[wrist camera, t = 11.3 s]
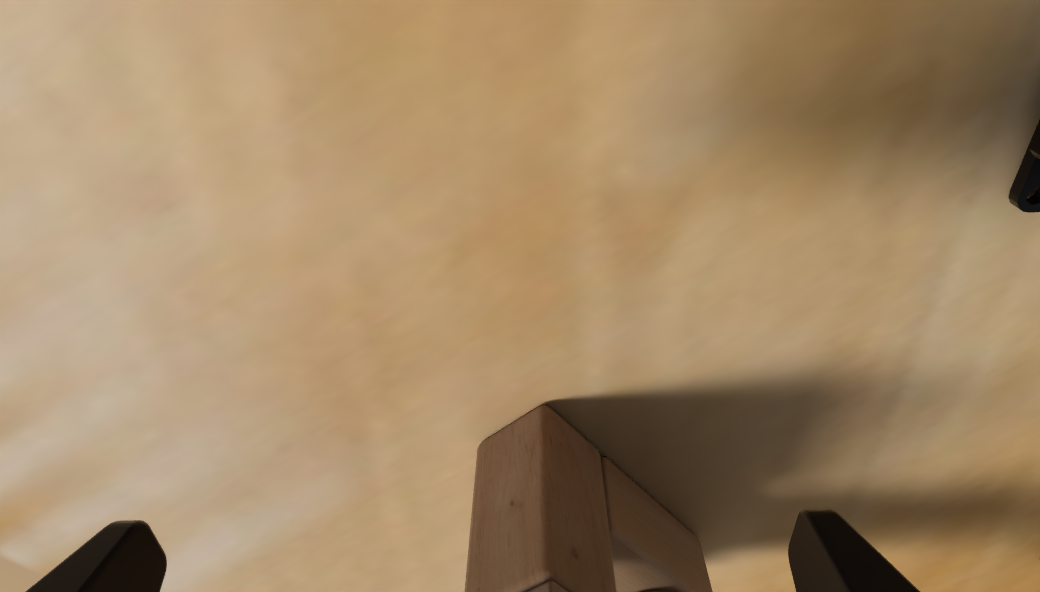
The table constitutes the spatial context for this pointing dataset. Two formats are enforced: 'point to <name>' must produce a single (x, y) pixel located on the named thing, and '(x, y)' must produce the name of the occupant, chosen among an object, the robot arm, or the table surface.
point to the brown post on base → (570, 519)
